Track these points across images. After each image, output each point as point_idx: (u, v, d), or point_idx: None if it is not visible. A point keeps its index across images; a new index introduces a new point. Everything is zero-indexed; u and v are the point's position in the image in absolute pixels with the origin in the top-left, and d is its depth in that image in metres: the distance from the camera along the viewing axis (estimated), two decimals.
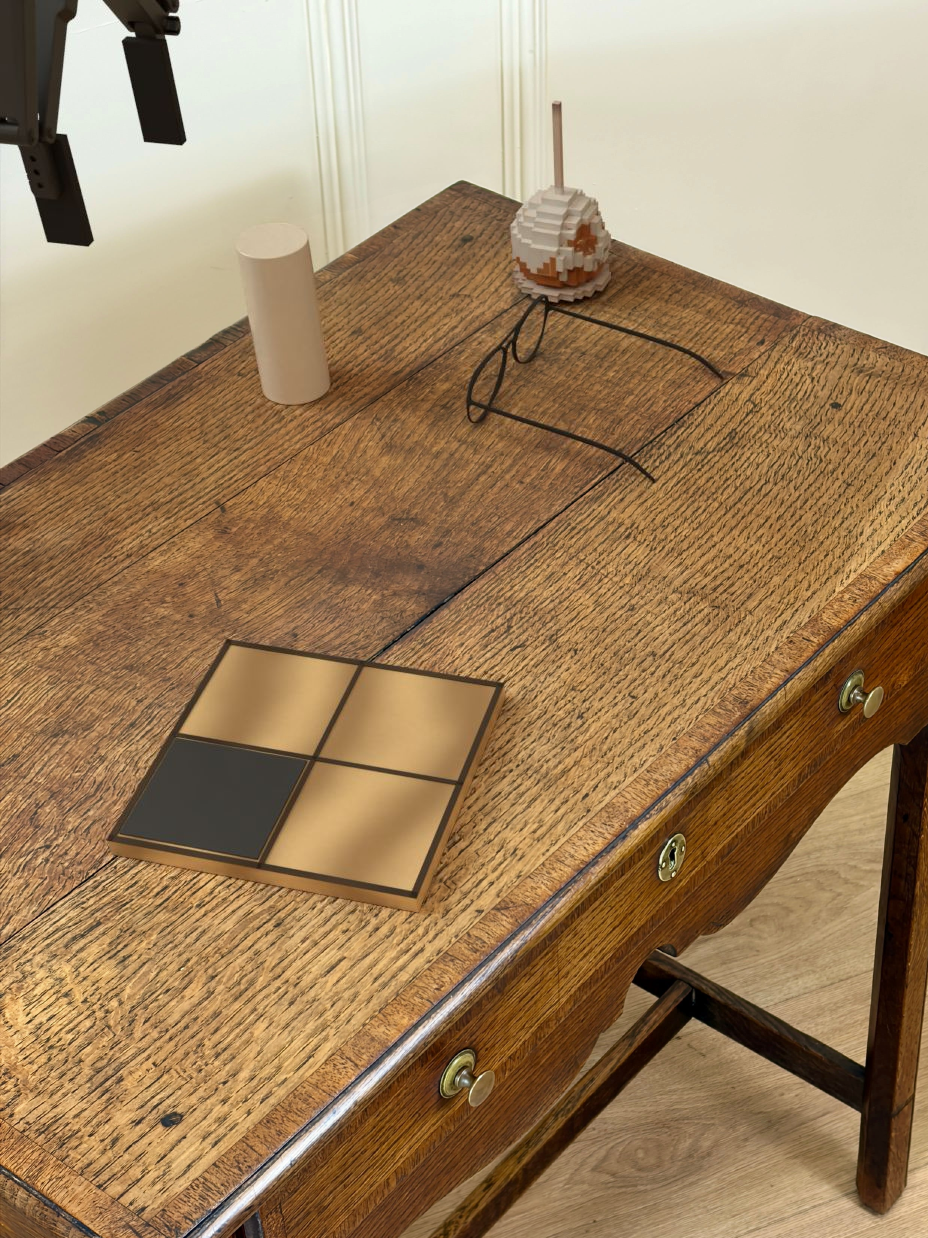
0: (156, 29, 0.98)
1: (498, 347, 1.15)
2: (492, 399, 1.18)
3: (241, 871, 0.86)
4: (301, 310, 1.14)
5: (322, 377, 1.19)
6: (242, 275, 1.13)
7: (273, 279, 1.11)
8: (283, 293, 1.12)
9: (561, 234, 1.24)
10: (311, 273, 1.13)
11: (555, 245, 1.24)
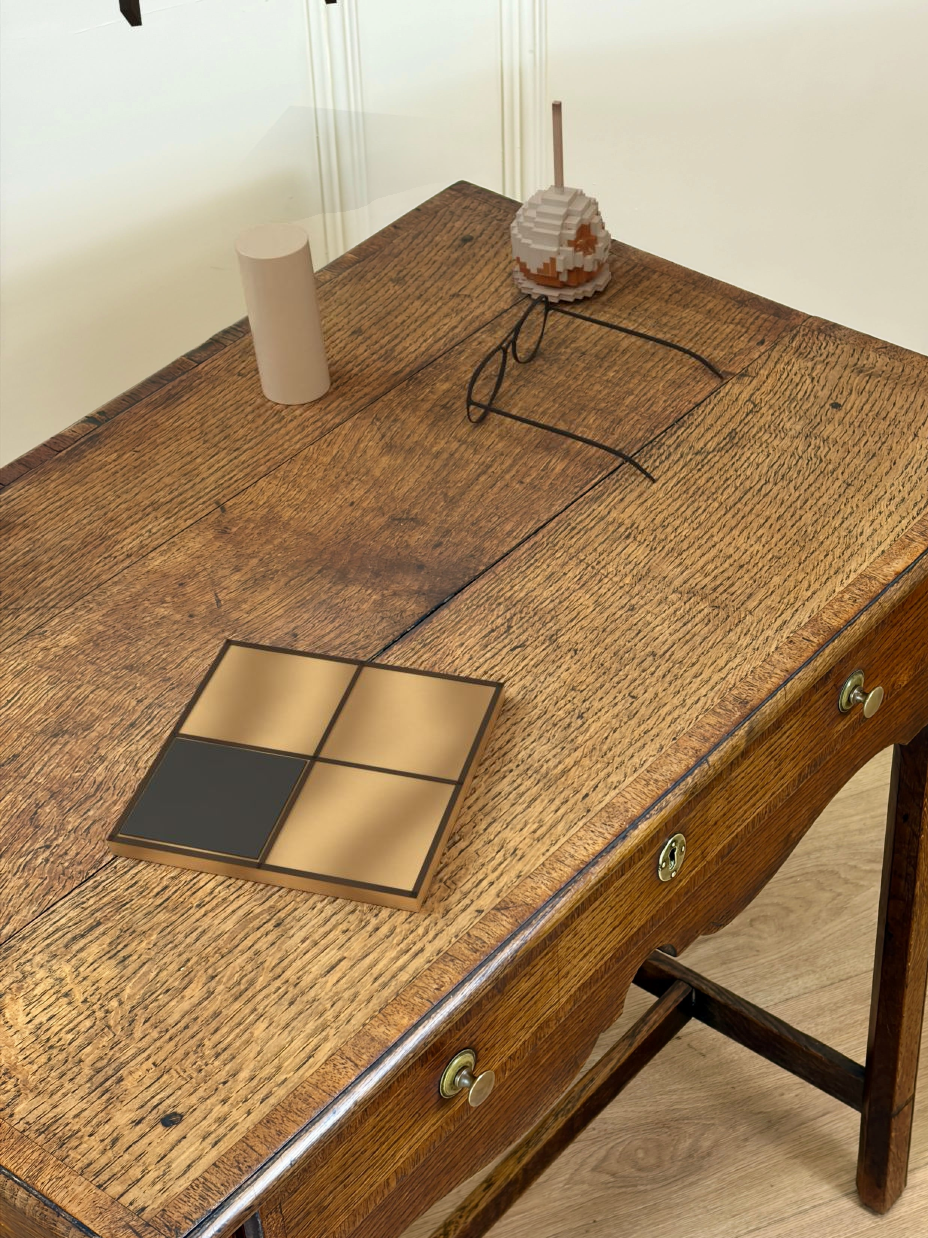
0: None
1: (498, 347, 1.15)
2: (492, 399, 1.18)
3: (241, 871, 0.86)
4: (301, 310, 1.14)
5: (322, 377, 1.19)
6: (242, 275, 1.13)
7: (273, 279, 1.11)
8: (283, 293, 1.12)
9: (561, 234, 1.24)
10: (311, 273, 1.13)
11: (555, 245, 1.24)
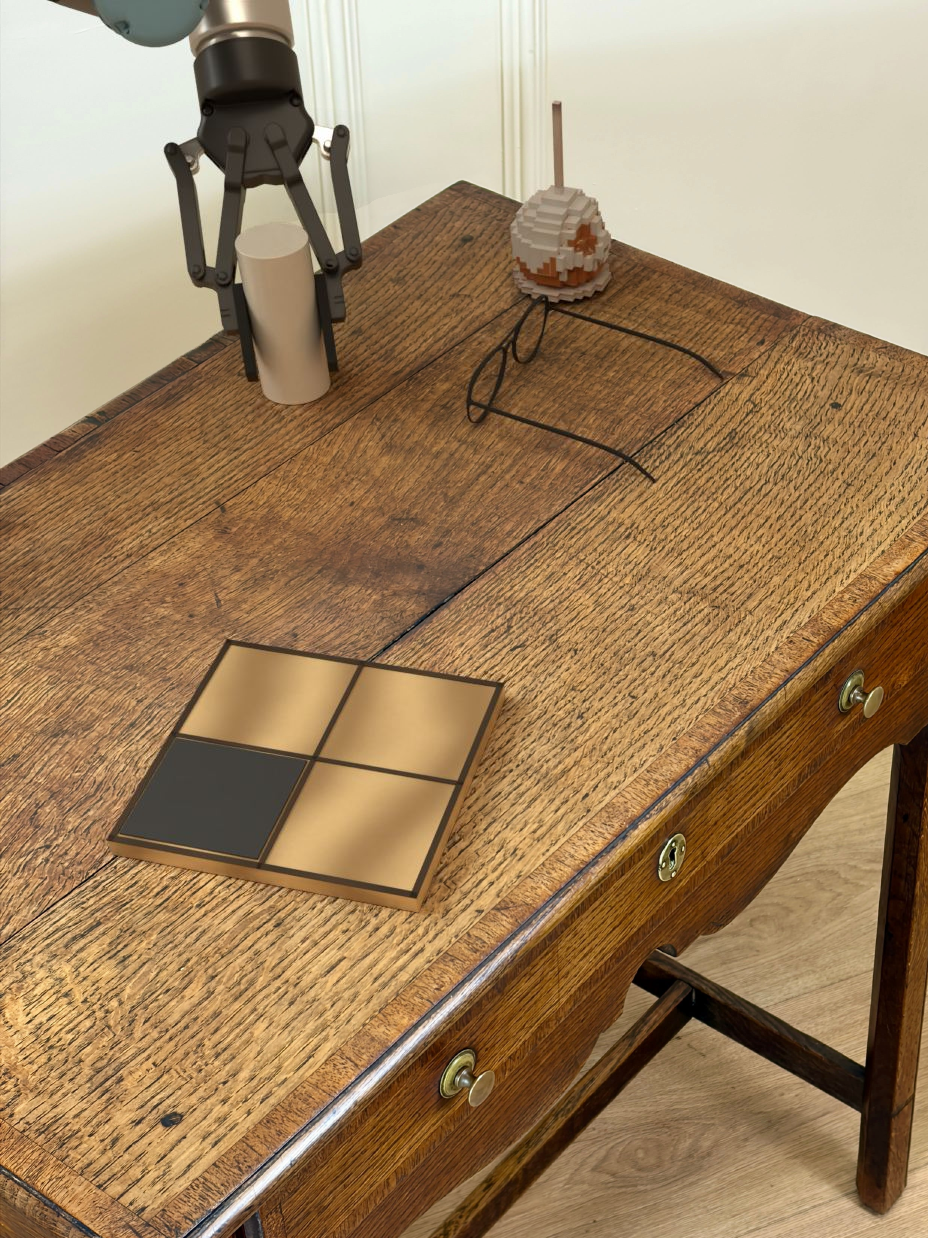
0: (234, 279, 1.16)
1: (498, 347, 1.15)
2: (492, 399, 1.18)
3: (241, 871, 0.86)
4: (301, 310, 1.14)
5: (322, 377, 1.19)
6: (242, 275, 1.13)
7: (273, 279, 1.11)
8: (283, 293, 1.12)
9: (561, 234, 1.24)
10: (311, 273, 1.13)
11: (555, 245, 1.24)
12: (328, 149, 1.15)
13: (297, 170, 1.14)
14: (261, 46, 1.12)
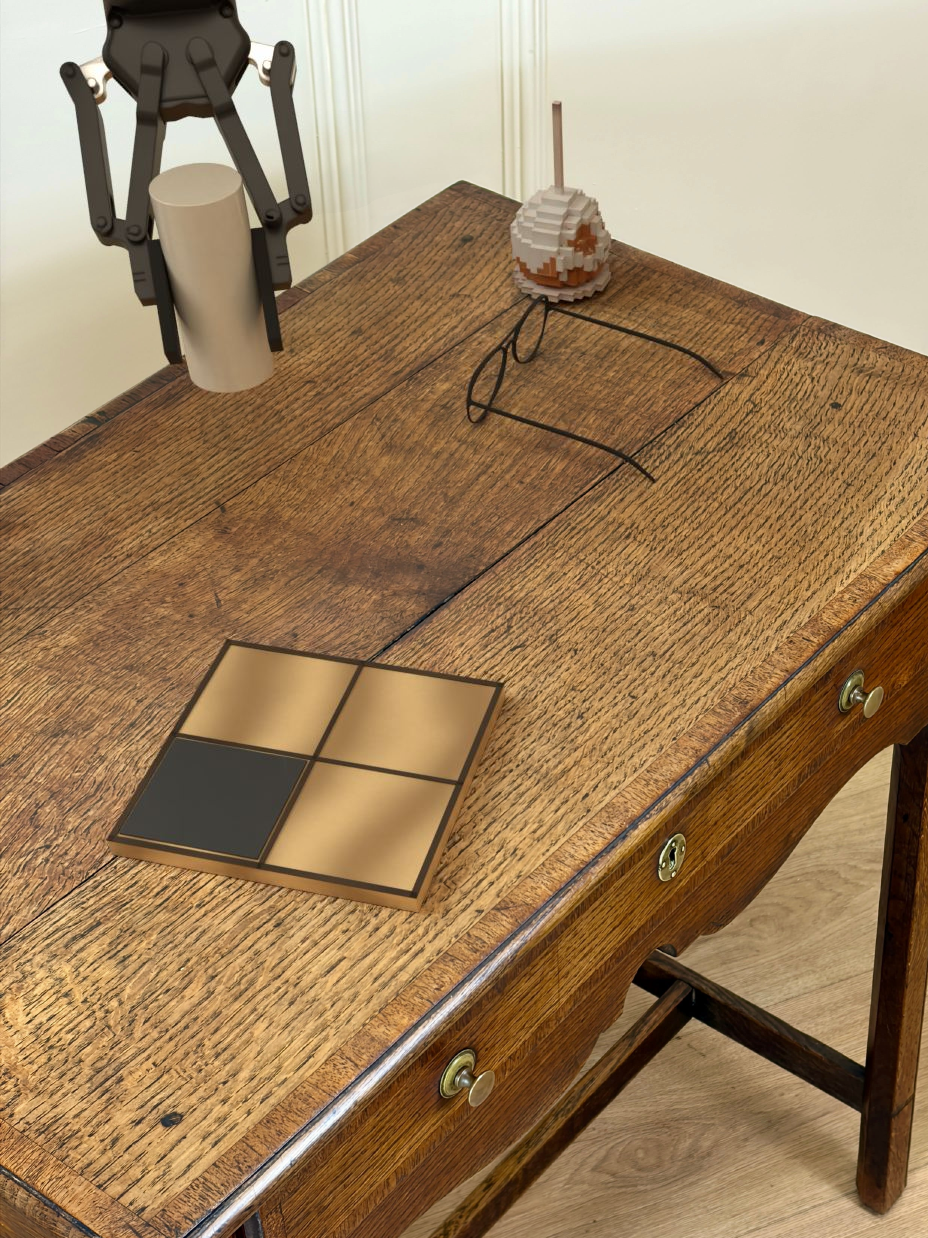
0: (151, 235, 0.93)
1: (498, 347, 1.15)
2: (492, 399, 1.18)
3: (241, 871, 0.86)
4: (234, 273, 0.91)
5: (263, 359, 0.95)
6: (159, 228, 0.89)
7: (196, 232, 0.88)
8: (211, 250, 0.89)
9: (561, 234, 1.24)
10: (246, 226, 0.90)
11: (555, 245, 1.24)
12: (268, 71, 0.92)
13: (228, 97, 0.91)
14: None
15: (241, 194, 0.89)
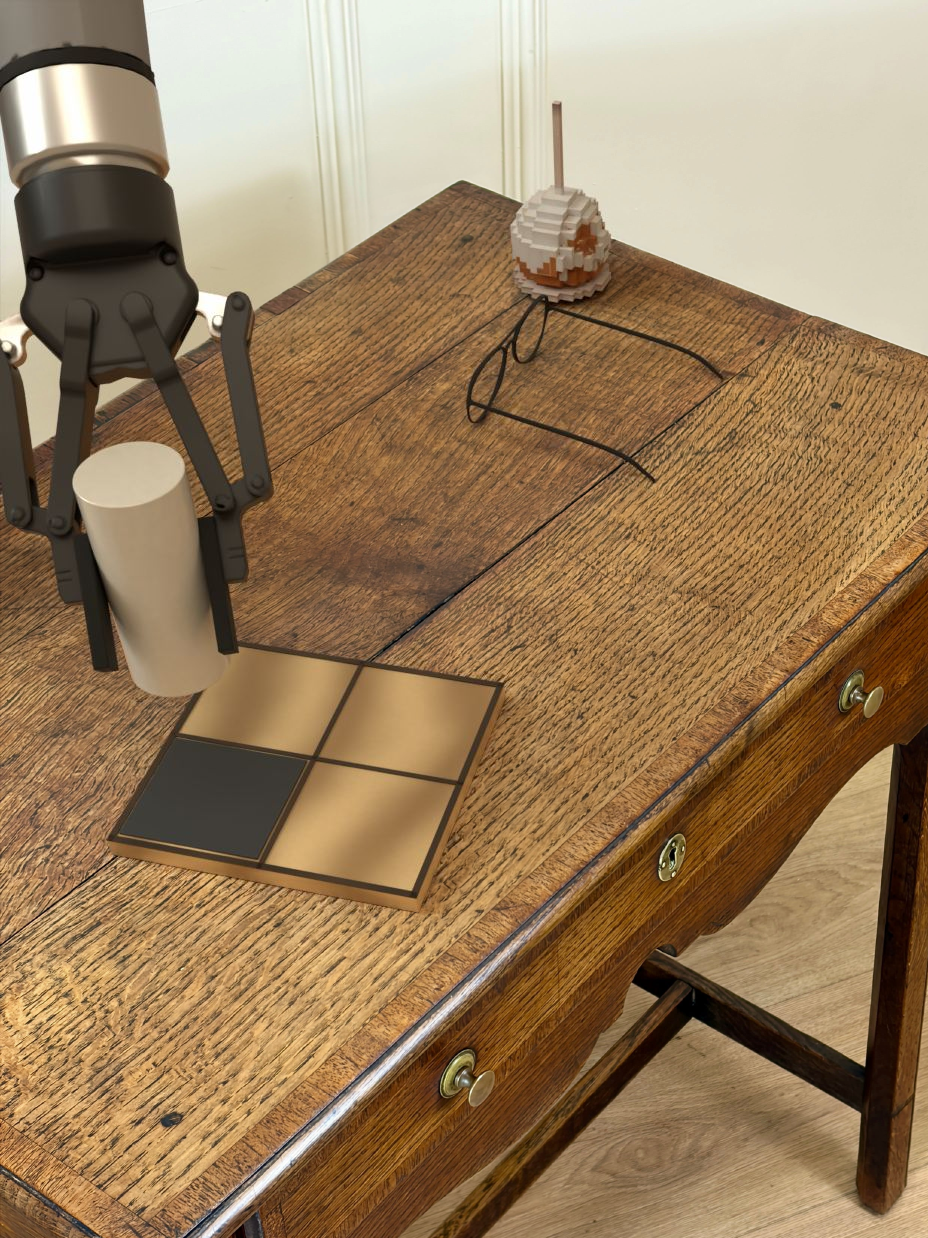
0: (81, 520, 0.78)
1: (498, 347, 1.15)
2: (492, 399, 1.18)
3: (241, 871, 0.86)
4: (177, 574, 0.75)
5: (216, 657, 0.80)
6: (85, 525, 0.74)
7: (130, 535, 0.73)
8: (148, 553, 0.74)
9: (561, 234, 1.24)
10: (192, 519, 0.75)
11: (555, 245, 1.24)
12: (219, 328, 0.77)
13: (171, 362, 0.76)
14: (112, 179, 0.73)
15: (184, 486, 0.74)
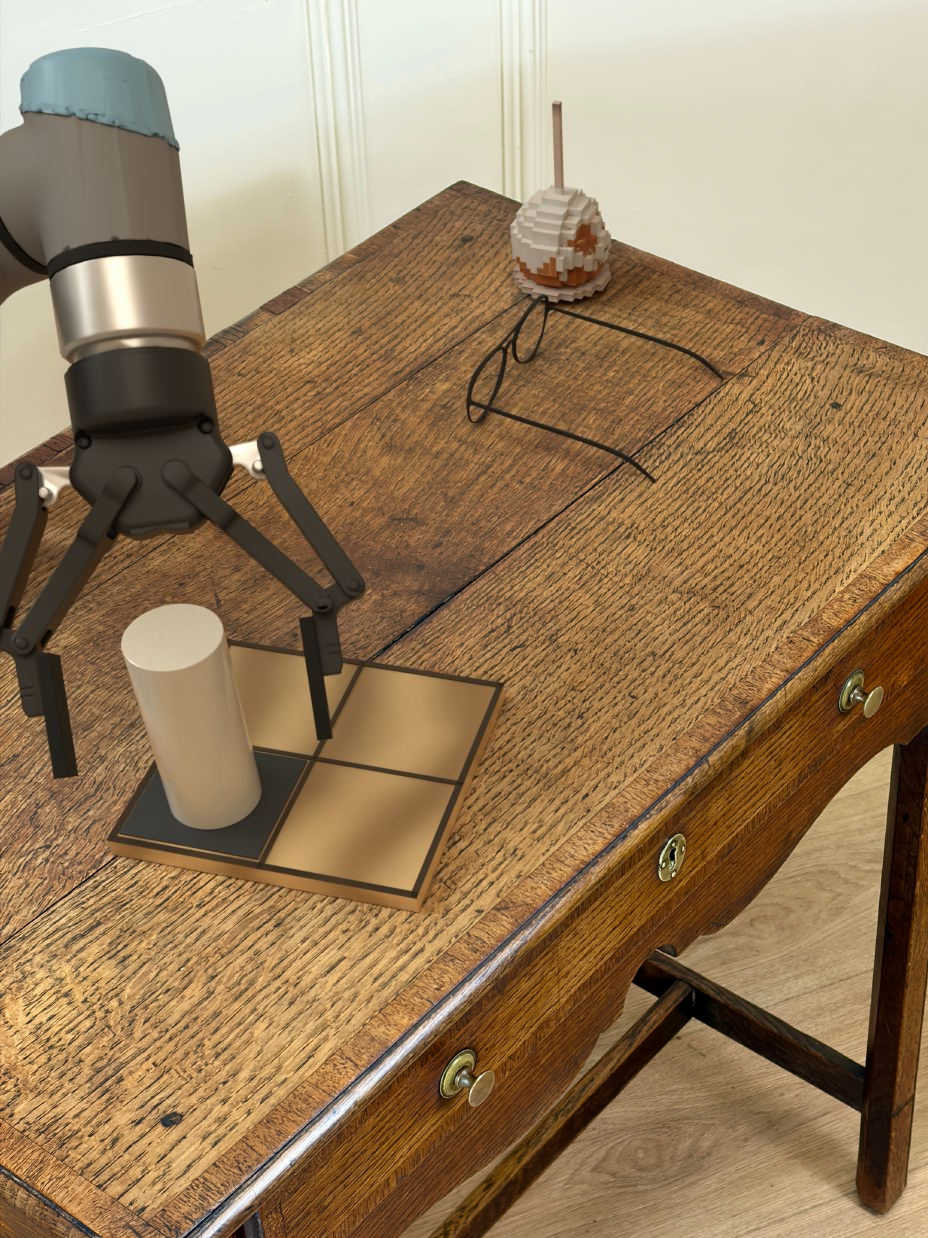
0: (46, 644, 0.84)
1: (498, 347, 1.15)
2: (492, 399, 1.18)
3: (241, 871, 0.86)
4: (215, 725, 0.83)
5: (248, 793, 0.87)
6: (132, 683, 0.81)
7: (173, 694, 0.80)
8: (189, 708, 0.81)
9: (561, 234, 1.24)
10: (229, 676, 0.82)
11: (555, 245, 1.24)
12: (261, 471, 0.83)
13: (227, 506, 0.82)
14: (155, 361, 0.80)
15: (223, 648, 0.81)
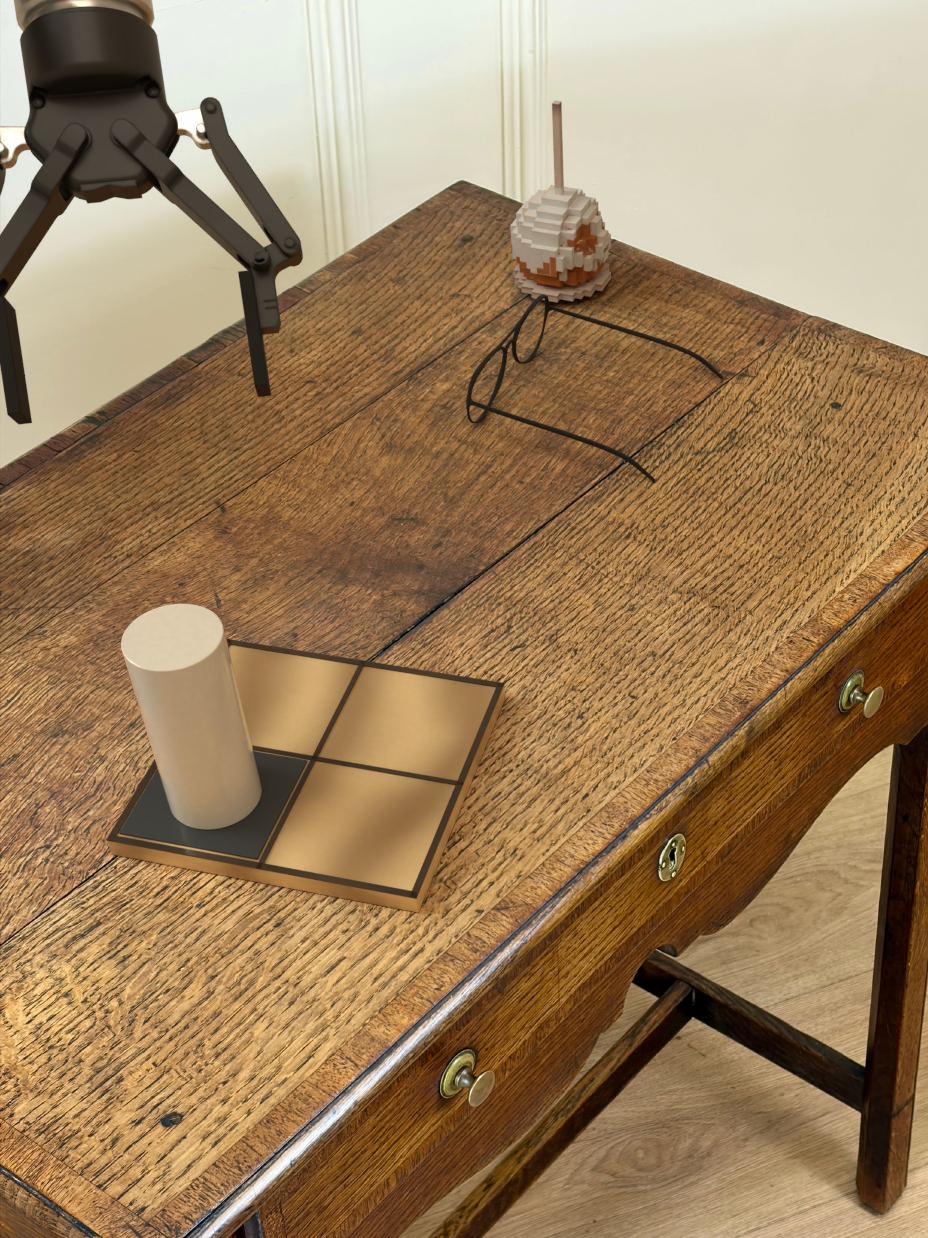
0: (2, 297, 0.90)
1: (498, 347, 1.15)
2: (492, 399, 1.18)
3: (241, 871, 0.86)
4: (215, 725, 0.83)
5: (248, 793, 0.87)
6: (132, 683, 0.81)
7: (173, 694, 0.80)
8: (189, 708, 0.81)
9: (561, 234, 1.24)
10: (229, 676, 0.82)
11: (555, 245, 1.24)
12: (204, 134, 0.89)
13: (171, 164, 0.88)
14: (104, 19, 0.86)
15: (223, 648, 0.81)
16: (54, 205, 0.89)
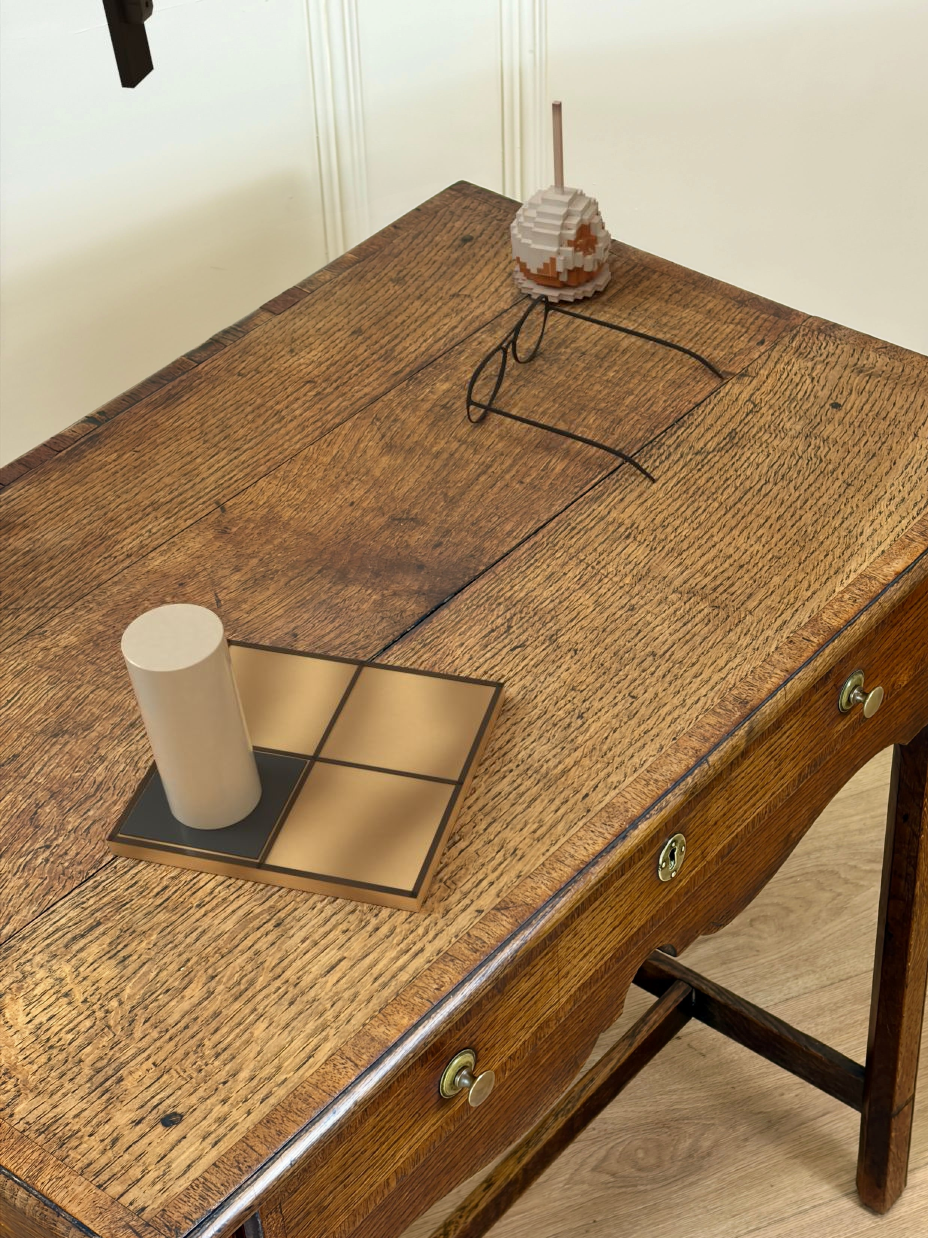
0: None
1: (498, 347, 1.15)
2: (492, 399, 1.18)
3: (241, 871, 0.86)
4: (215, 725, 0.83)
5: (248, 793, 0.87)
6: (132, 683, 0.81)
7: (173, 694, 0.80)
8: (189, 708, 0.81)
9: (561, 234, 1.24)
10: (229, 676, 0.82)
11: (555, 245, 1.24)
12: None
13: None
14: None
15: (223, 648, 0.81)
16: None
